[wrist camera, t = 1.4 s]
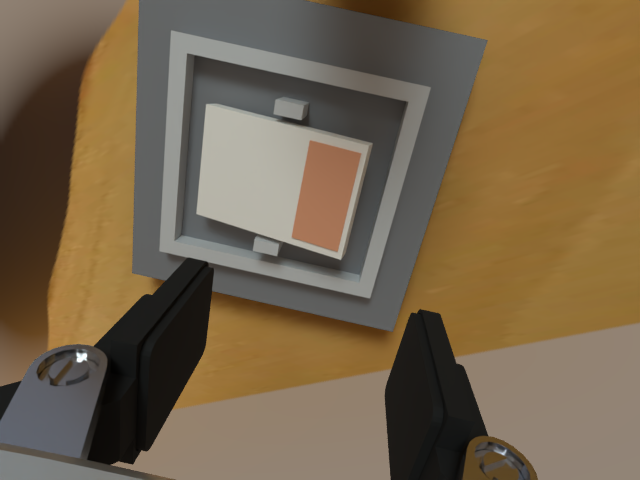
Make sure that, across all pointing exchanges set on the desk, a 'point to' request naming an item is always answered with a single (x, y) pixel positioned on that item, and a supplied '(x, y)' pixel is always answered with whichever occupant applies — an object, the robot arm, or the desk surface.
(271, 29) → the switch plate
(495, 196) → the desk surface
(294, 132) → the rocker switch
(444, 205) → the desk surface
